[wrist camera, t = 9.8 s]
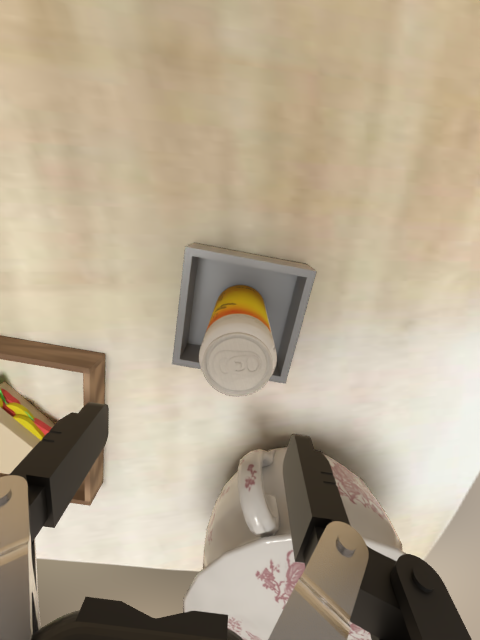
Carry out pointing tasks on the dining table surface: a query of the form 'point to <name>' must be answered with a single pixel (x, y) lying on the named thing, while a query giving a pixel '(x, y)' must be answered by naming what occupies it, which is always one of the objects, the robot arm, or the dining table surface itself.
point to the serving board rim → (92, 388)
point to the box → (250, 270)
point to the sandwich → (18, 428)
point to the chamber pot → (271, 544)
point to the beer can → (238, 343)
